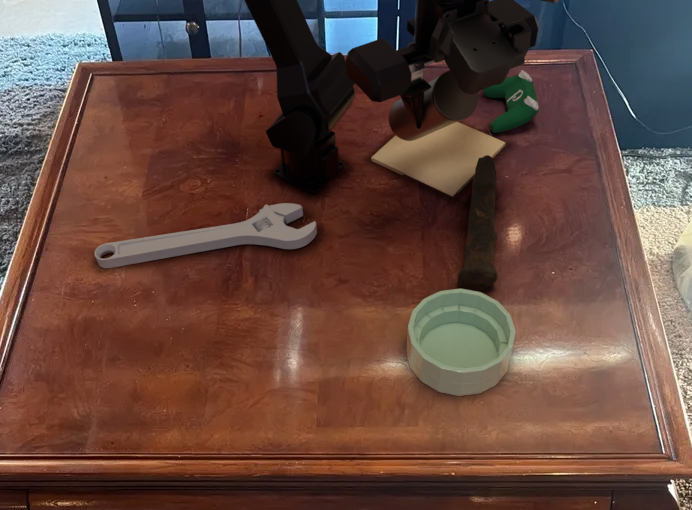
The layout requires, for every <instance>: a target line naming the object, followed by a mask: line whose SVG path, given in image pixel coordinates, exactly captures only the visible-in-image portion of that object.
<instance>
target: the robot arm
mask: <svg viewBox="0 0 692 510" xmlns="http://www.w3.org/2000/svg"><path fill="white" fill-rule="evenodd" d="M243 1H244V2H245V5H246V7H247V9H248V11H249V13H250V15H251V17H252V19H253V21H254V23H255V25H256V28H257V29H258V31H259V34H260V35H261V37H262V40H263V42H264V44H265V45H266V48H267V50H268V52H269V54H270V56H271V58H272V60H273V62H274V65H275V68H276V99H277V101H278V104H279V107H280V110H281V113H280V114H279V115H278V116H277V118H276V119H275V120H274V121H273V122H272V123H271V125H269V127H267V129H266V131H265V134H266V136H267V138H268V140H269V143H270V145H271V147H274V148H276V149H279V150H280V158H281V164H280V165H278V166H277V167H276V168H275V169H274V170H273V175H274V177H277V178H278V179H281V180H283V181H284V182H287V183H288V184H290V185H292V186H294V187H296V188H298V189H299V190H302V191H304V192H305V193H308V194H310V195H315V194H317V193H318V192H319V191H320V190H321V189H323V188H324V187H325V186H326V185H327V184H328V183H330V182H331V181H332V180H333V179H334V178H335V177H336V176H338V175H339V174H340V173H341V172H342V171H343V170H344V169H345V167H346V165H345V162H344V161H342V160H340V159H339V146H338V145H336V132H335V131H333V129H334V128H335V126H336V125H337V124H338V123H339V122H340V120H341V119H342V118H343V116H344V115H345V114H346V112H347V111H348V110H349V109H350V108H351V106H352V105H353V102H354V99H355V97H356V92H355V88H354V86H355V85H356V86H357V87H358V88H359V89H360V90H361V91H362V92H363V93H364V94H365V95H366V97H367V98H368V99H369V100H370V101H371V102H374V103H382V102H385V101H388V100H391V99H393V98H396V97H400V99H402V102H403V104H404V106H405V108H406V111H407V113H408V115H409V118H410V120H411V122H412V124H413V126H414V127H415V128H416V129H417V130H418V129H420V128H421V125H422V120H423V105H424V92H425V91H427V90H429V89H430V88H431V85H430V84H428V82H427V80H426V79H425V78H424V71H425V67H426V66H429V65H431V64H434V63H436V64H437V63H440V62H443V61H444V63H445V64H446V67H448V69H449V70H450V71H451V72H452V74H453V76H454V77H455V79H456V80H457V82H458V86H459V87H460V89H461V90H462V91H463V92H465V93H467V94H475V93H477V92H478V93H480V92H481V91H482V90H483V91H484V89H485V88H488V87H491V86H493V85H499V84H501V83H503V82H504V80H505V78H507V77H508V74H509V73H510V70H512V69H514V68H517V67H519V66H522V65H524V64H525V62H526V59H525V57H526V56H527V54H528V52H529V50H530V48H533V47H536V45H537V40H538V34H539V30H540V25H539V22H538V19H537V17H536V16H535V15H534V14H532V13H531V12H530V11H529V10H528V9H526V8H525V7H523V6H522V5H521V4H520V3H518V2H517V1H516V0H415V8H414V9H415V10H414V18H412V19H408V20H407V21H406V31H407V32H408V33H409V34H410V35H411V36H412V37H413V41H412V42H410V43H408V44H407V46H405V47H402V48H399V49H396V48H395V47H394V46H393V45H391V44H390V43H389V42H388V41H387V40H386V39H385V38H384V37H381V38H379V39H376V40H373V41H369V42H366V43H363V44H361V45H358V46H355V47H352V48H351V49H350V50H349V51H348V52H347V53H346V56H345V55H343V53H342V52H340V51H338V52H335V53H333V54H331V53H330V52H328V51H327V50H325V49H324V48H322V46H320V45H319V44H318V43H317V41H316V39H315V37H314V35H313V33H312V30H311V28H310V26H309V24H308V22H307V19H306V17H305V14H304V13H303V10H302V8H301V6H300V4H299V0H243ZM540 1H542V2H546V3H550V4H558V3H559V2H560V0H540Z"/></svg>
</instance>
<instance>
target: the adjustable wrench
mask: <svg viewBox="0 0 692 510" xmlns="http://www.w3.org/2000/svg"><path fill="white" fill-rule="evenodd" d="M302 217H304V211H303V206H302V205H301V204H298V203H291V202H282V203H281V202H280V203H275V204H271V205H268V204H267V203H266V204H264V205H263V207H262V208H260V209H259V210H258V212H257V213H256V214H255V215H253V216H252V217H250V218H248V219H246V220H243V221H240V222H235V223H228V224H221V225H217V226H210V227H204V228H197V229H189V230H183V231H177V232H171V233H164V234H158V235H151V236H144V237H138V238H132V239H125V240H118V241H113V242H107V243H102V244H100V245H98V246H97V247H96V248H95V250H94V258H95V259H96V262H97V265H98V266H99V267H101V268H103V269H113V268H119V267H123V266H129V265H134V264H140V263H146V262H152V261H156V260H157V261H158V260H162V259H169V258H173V257H179V256H185V255H190V254H196V253H202V252H207V251H213V250H219V249H225V248H229V247H235V246H242V245H258V246H265V247H266V246H268V247H271V248H278V249H282V250H297V249H300V248H304V247H305V246H307V245H309V244H310V243H311V242H312V241H313V240H314V239H315V238H316V236H317V234H318V229H317V228H318V227H317V222H316V221H315V220H314V221H312V222H310V223H308V224H306V225H304V226H302V227H300V228H294V227H292V226H288V224H290V223H291V222H294V221H296V220H298V219H300V218H302ZM107 254H113V255H112V256H109V257H107V258H103V256H104V255H107Z"/></svg>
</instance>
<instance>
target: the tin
mask: <svg viewBox="0 0 692 510" xmlns="http://www.w3.org/2000/svg"><path fill="white" fill-rule="evenodd" d="M427 83H428V84H430V85H431V88H430V89H429V90H427V91H425V92H424V105H423V120H422V125H421V128H420V129H418V130H417V129H416V128H415V127H414V126H413V124H412V122H411V120H410V118H409V115H408V113H407V111H406V108H405V106H404V104H403V102H402V99H401V98H399V99H397V100H396V101H394V103H393V104H392V105H391V107H390V109H389V112H388V124H389V128H390V130H391V131H392V133H393V134H394V136H395V135H396V136H397V137H399V138H400V139H402V140H405V141H414V140H416V139H419V138H421V137H423V136H426V135H428V134H430V133H433V132H435V131H437V130H440V129H442V128H444V127H446V126H449V125H451V124H453V123H456V122H461V121H464V120H466V119H468V118H469V117H470V116H472V114H474V113H475V111H476V109H477V107H478V104H479V100H480V99H479V98H480V97H479V95H480V94H479V92H477V93H475V94H467V93H465V92H463V91H462V90H461V89H460V87H459V86H458V82H457V80H456V79H455V77H454V76H453V74H452V72H451V71H450V69H449V70H447V71H445V72H443V73H442V74H439V76H437V77H435V78H433V79H432V80H430V81H429V82H427Z"/></svg>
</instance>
